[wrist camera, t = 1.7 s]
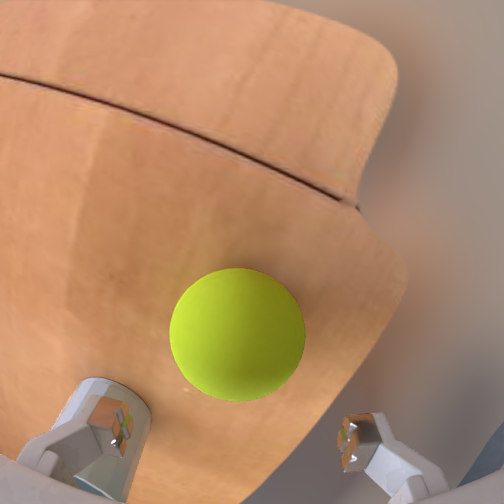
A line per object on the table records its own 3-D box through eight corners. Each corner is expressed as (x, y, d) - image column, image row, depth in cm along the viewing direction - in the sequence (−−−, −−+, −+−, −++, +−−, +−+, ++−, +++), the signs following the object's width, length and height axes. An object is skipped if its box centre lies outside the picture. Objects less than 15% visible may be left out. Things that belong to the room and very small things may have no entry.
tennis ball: (184, 246, 17) (145, 300, 11) (304, 254, 17) (328, 313, 11) (186, 345, 19) (161, 420, 13) (289, 352, 19) (300, 430, 13)
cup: (68, 369, 20) (15, 447, 12) (145, 386, 21) (106, 483, 12) (88, 423, 23) (52, 496, 14) (156, 439, 23) (132, 524, 14)
